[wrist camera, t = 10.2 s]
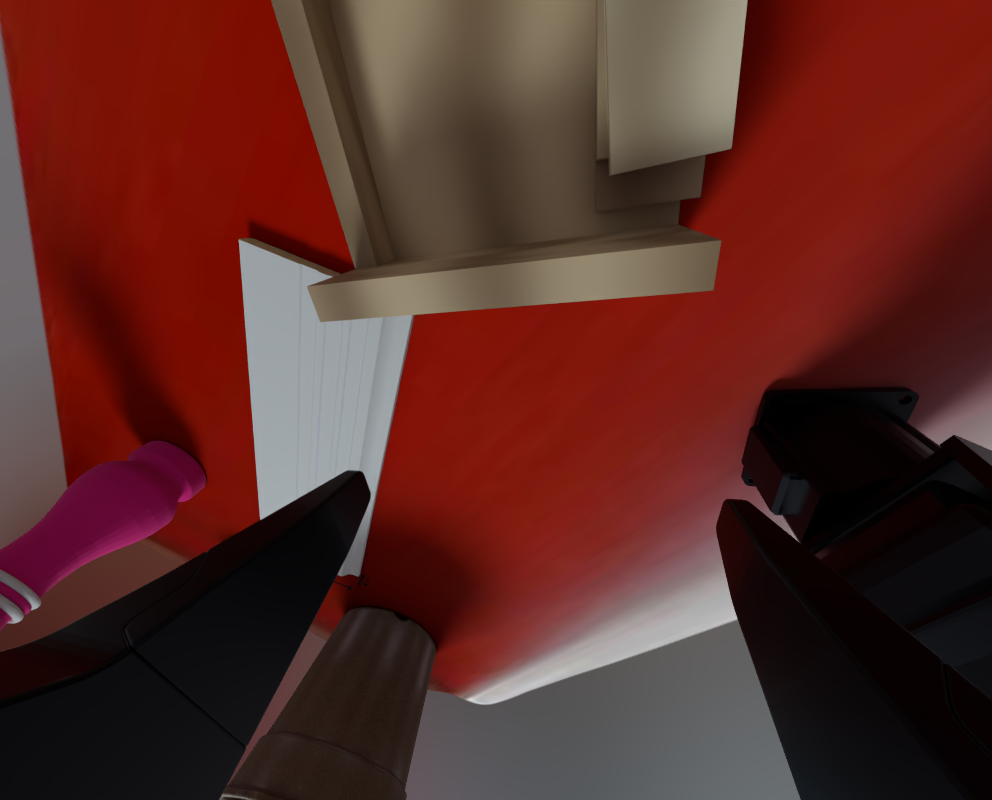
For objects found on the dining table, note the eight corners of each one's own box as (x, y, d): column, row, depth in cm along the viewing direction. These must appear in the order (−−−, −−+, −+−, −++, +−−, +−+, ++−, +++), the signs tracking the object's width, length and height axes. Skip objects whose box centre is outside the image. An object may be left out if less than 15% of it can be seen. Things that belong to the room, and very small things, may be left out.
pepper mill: (200, 502, 37) (-120, 765, 20) (135, 458, 35) (-274, 705, 18) (222, 472, 33) (-142, 761, 17) (151, 422, 32) (-336, 686, 15)
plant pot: (401, 584, 37) (297, 813, 24) (479, 665, 43) (432, 887, 29) (304, 601, 44) (179, 787, 30) (383, 670, 49) (309, 851, 36)
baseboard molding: (442, 310, 21) (259, 236, 21) (424, 326, 19) (217, 242, 19) (375, 574, 38) (272, 532, 38) (361, 600, 36) (251, 555, 36)
